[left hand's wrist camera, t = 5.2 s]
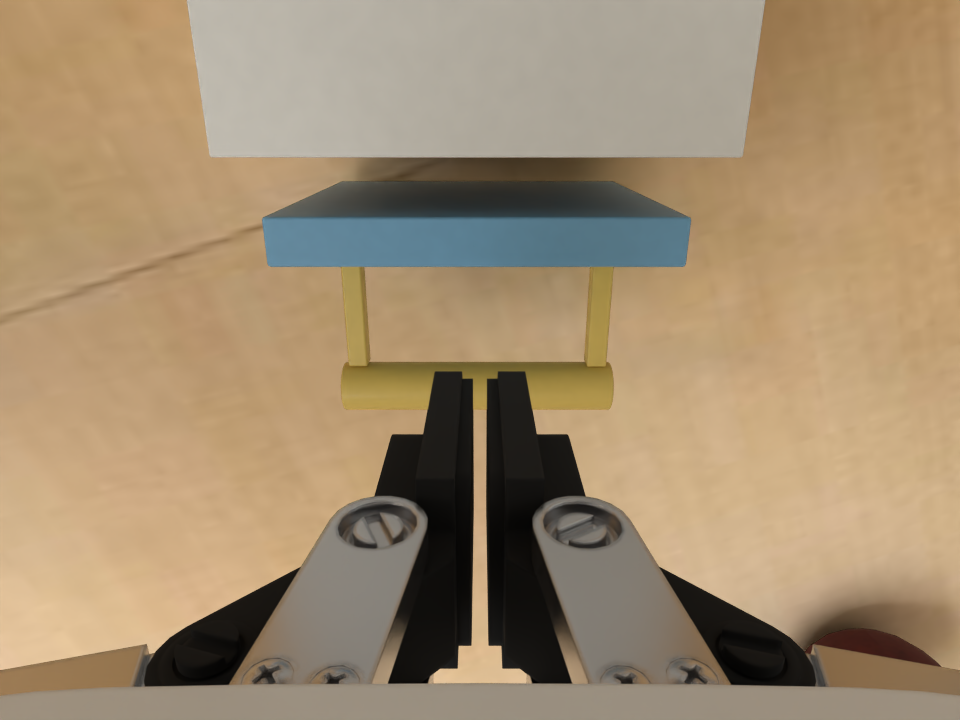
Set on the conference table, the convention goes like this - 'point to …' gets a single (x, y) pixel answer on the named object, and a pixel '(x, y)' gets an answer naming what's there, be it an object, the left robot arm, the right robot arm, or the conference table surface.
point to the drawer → (476, 243)
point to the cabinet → (476, 77)
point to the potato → (874, 645)
